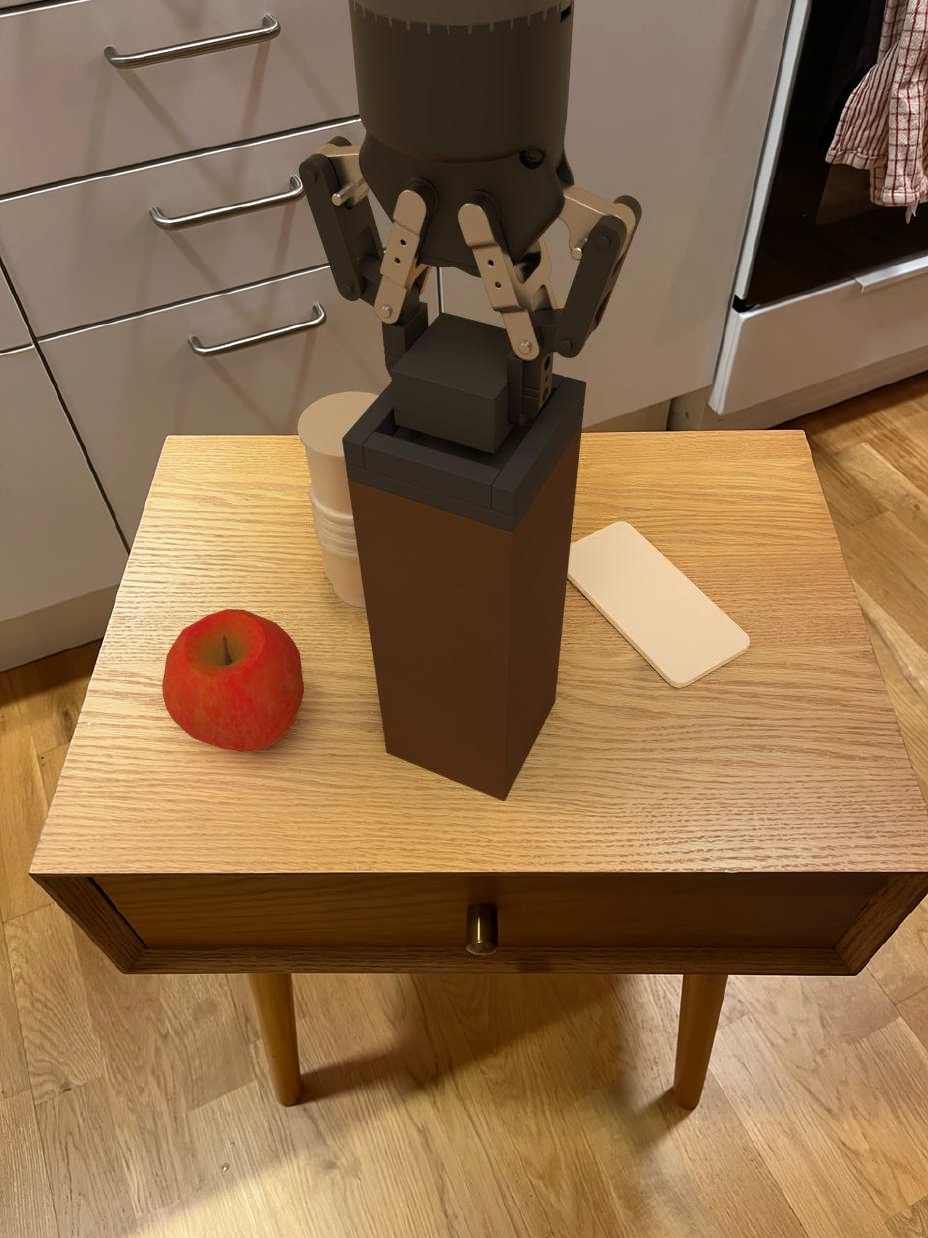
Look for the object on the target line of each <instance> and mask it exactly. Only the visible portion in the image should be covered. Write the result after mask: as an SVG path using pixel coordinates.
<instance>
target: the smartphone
mask: <svg viewBox="0 0 928 1238" xmlns="http://www.w3.org/2000/svg"><path fill="white" fill-rule="evenodd" d="M567 580H569V581H570V583H572V584H573V585H574V586H575V588H577V590H579V591H580V593H581V594H582V595H583V596H584V597H585V598H586V599H587V600H588V601H589V602H590V603H591V604H592V605H593V607H595V608H596V609H597V611H598V612H600V613H601V615H603V617H604V618H605V619H606V620H607V621H608V623H610V624H611V625H612V626H613V627H614V628H615V630H617V631H618V632H619V634H621V635H622V637H623V638H624V639H625V640H626V641H627V642H628V643H629V644H630V645H631V646H632V647H633V648H634V649H635V650H636V651H637V652H638V653H639V654H640V655H641V657H642V658H644V660H646V662H647V663H648V664H650V666H651V667H652V668H653V669H654V671H656V672H657V673H658V674H659V675H660V676H661V678H662V679H663V680H664V681H665V682H667V683H668V684H669V685H670V686H672V687H674V688H676V689H677V688H679V689H682V688H686V687H687V686H690V685H691V684H693V683H695V682H696V681H698V680H700V679H701V678H704V677H705V676H707V675H708V674H710V673H712V672H714V671H716V670H718V669H719V668H721V667H723V666H725V665H726V664H728V663H729V662H731V661H733V660H735V659H736V658H738V657H739V656H741V655H743V654H744V653H746V652H747V651H748V649H749V648H750V645H751V638H750V636H749V635H748V634H747V632H746V631H744V630H743V629H742V628H741V626H739V625H738V624H737V623H736V622H735V621H734V620H733V619H731V617H730V616H729V615H727V613H726V612H725V611H723V610H722V609H721V608H720V607H719V606H718V605H717V604H716V603H715V602H714V601H713V600H712V599H711V598H710V597H708V596H707V595H706V594H705V593H704V592H703V591H702V590H701V589H700V588H699V587H698V586H697V585H695V583H693V582H692V581H691V580H690V579H689V578H688V577H687V576H686V575H685V574H684V573H683V572H682V571H681V570H679V568H678V567H677V566H676V565H674V564H673V563H672V562H671V561H670V560H669V559H668V558H667V557H666V556H665V555H664V554H662V552H660V551H659V550H658V549H657V548H656V547H655V546H654V545H653V544H652V543H651V542H650V541H649V540H647V538H645V537H644V536H643V535H642V534H641V533H640V532H639V530H637V529H636V528H635V527H634V526H633V525H632V524H630V523H628V522H626V521H616V522H613V523H612V524H609V525H607V526H605V527H602V528H601V529H599V530H597V531H594V532H593V533H590V534H589V535H586V536H584V537H582V538H580V539H578V540H575V541H574V542H573V543H572V542H571V545H570V556H569V566H568V576H567Z"/></svg>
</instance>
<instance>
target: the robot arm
mask: <svg viewBox="0 0 928 1238" xmlns="http://www.w3.org/2000/svg"><path fill="white" fill-rule="evenodd" d="M348 9H349V20H350V31H351V41H352V52H353V53H352V54H353V62H354V74H355V85H356V95H357V106H358V114H359V119H360V121H361V123H362V126H363V127H364V129H365V134H364V135H365V136H364V139H363V142H362V144H355V145H354V144H352V142H350V140H349V139H348V138H346V137H344V136H341V135H336V136H334V137H332V138H331V139H330V140H328V141H327V142H326V143H325V144H324V145H322V146H321V147H320V148H318V149H316V150H315V152H313V153H312V154H311V155H310V156H308V157H307V158H306V159H304V160H303V161H302V162H301V163H300V164H299V166H298V176H299V179H300V182H301V185H302V188H303V191H304V194H305V197H306V200H307V202H308V206H309V209H310V211H311V215H312V217H313V220H314V223H315V227H316V230H317V233H318V236H319V239H320V241H321V244H322V247H323V250H324V253H325V256H326V259H327V263H328V265H329V268H330V271H331V274H332V277H333V279H334V283H335V286H336V289H337V292H338V293H339V294H340V296H341V297H343V299H345V300H346V301H350V302H356V301H358V300H359V299H361V300H362V301H363V302H365V303H367V304H368V305H370V306H371V307H372V308H373V310H374V313H375V315H376V317H377V318H378V319H379V320H380V323H381V331H382V333H381V334H382V344H383V353H384V365H385V369H386V371H387V372H388V375H389V377H390V378H391V369H392V368H393V367H394V365H395V364H396V363H397V362H398V361H399V360H400V359H401V358H402V356H403V355H404V354H405V353H407V351H408V350H409V349H410V348H411V347H412V346H413V345H414V343H415V342H416V341H417V340H418V339H419V338H420V337H421V336H422V334H423V333H424V332H425V331H426V330H427V329H428V328H429V326H430V324H429V323H430V322H429V303H428V302H425V301H421V300H420V297H421V296H422V295H423V293H424V291H425V288H426V286H427V282H428V280H429V276H430V274H431V272H432V271H431V270H432V268H433V267H434V268H457V269H458V270H460V271H462V272H464V273H466V274H468V275H470V276H472V277H475V278H480V279H481V280H482V283H483V286H484V288H485V289H484V290H485V292H486V295H487V298H488V301H489V303H490V306H491V309H492V310H493V311H494V312H496V313H497V312H498V313H499V314H500V315H501V317H502V321H503V324H504V328H506V330H507V333H508V336H509V339H510V342H511V345H512V348H513V350H512V351H511V352H510V353H509V355H508V356H507V381H508V405H507V421H508V423H511V424H515V425H518V426H521V427H522V426H523V425H524V424H525V423H526V421H527V420H528V418H529V417H533V418H534V417H535V416H536V415H537V413H538V412H539V410H540V409H541V407H542V406H543V404H544V403H545V401H546V400H547V398H548V396H549V395H550V393H551V385H552V382H551V381H552V373H553V367H554V354H555V353H557V354H558V355H559V356H561V357H563V358H565V359H573V358H575V357H577V356H578V355H579V354H580V353H581V352H582V350H583V349H584V347H585V344H586V342H587V341H588V339H589V338H590V336H591V335H592V333H593V332H594V331H596V329H597V328H598V327H599V325H600V324H601V322H602V320H603V317H604V315H605V312H606V310H607V307H608V304H609V302H610V299H611V296H612V294H613V292H614V289H615V286H616V283H617V281H618V279H619V276H620V274H621V270H622V268H623V266H624V263H625V260H626V258H627V255H628V253H629V250H630V248H631V245H632V242H633V240H634V237H635V234H636V232H637V230H638V227H639V224H640V221H641V219H642V215H643V209H642V206H641V204H640V202H639V201H638V199H636V198H635V197H634V196H632V195H627V194H622V195H619V196H617V197H616V198H615V199H614V200H613V201H612V202H611V201H609V200H606V199H605V198H603V197H600V196H599V195H596V194H594V193H592V192H590V191H588V190H586V189H583V188H581V187H579V186H576V184H575V176H574V173H573V170H572V168H571V166H570V163H569V160H568V158H567V153H566V147H565V138H566V131H567V130H566V129H567V121H568V113H569V112H568V110H569V97H570V95H569V94H570V80H571V79H570V78H571V66H572V65H571V64H572V50H573V49H572V48H573V34H574V17H575V16H574V14H575V0H348ZM370 191H371V193H372V194H373V195H374V197H375V199H376V200H377V202H378V203H379V205H380V206H381V208H382V210H383V211H384V213H385V214H386V216H387V218H388V219H389V221H390V222H391V224H392V227H391V230H390V234H389V237H388V240H387V244H386V248H385V250H384V246H383V243H382V239H381V236H380V233H379V229H378V225H377V222H376V219H375V215H374V212H373V209H372V205H371V201H370V199H369V198H370V197H369V195H368V194H369V193H370ZM557 219H559V220H561V221H562V222H563V224H565V226H566V227H567V229H568V232H569V234H568V235H569V237H568V248H569V250H570V257H571V258H572V259H573V260H574V261H579V262H578V266H577V268H576V271H575V274H574V277H573V280H572V283H571V286H570V288H569V291H568V295H567V297H566V300H565V303H564V306H563V307H562V308H560V307H559V306H558V303H557V299H556V296H555V293H554V290H553V286H552V282H551V275H552V268H553V267H552V260H551V257H550V254H549V251H548V250H549V249H548V246H547V243H546V240H545V236H544V234H545V233H546V232H547V231H548V230H549V229H550V227H551V226H552V225H553V224H554V223H555V222H556V221H557Z"/></svg>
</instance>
